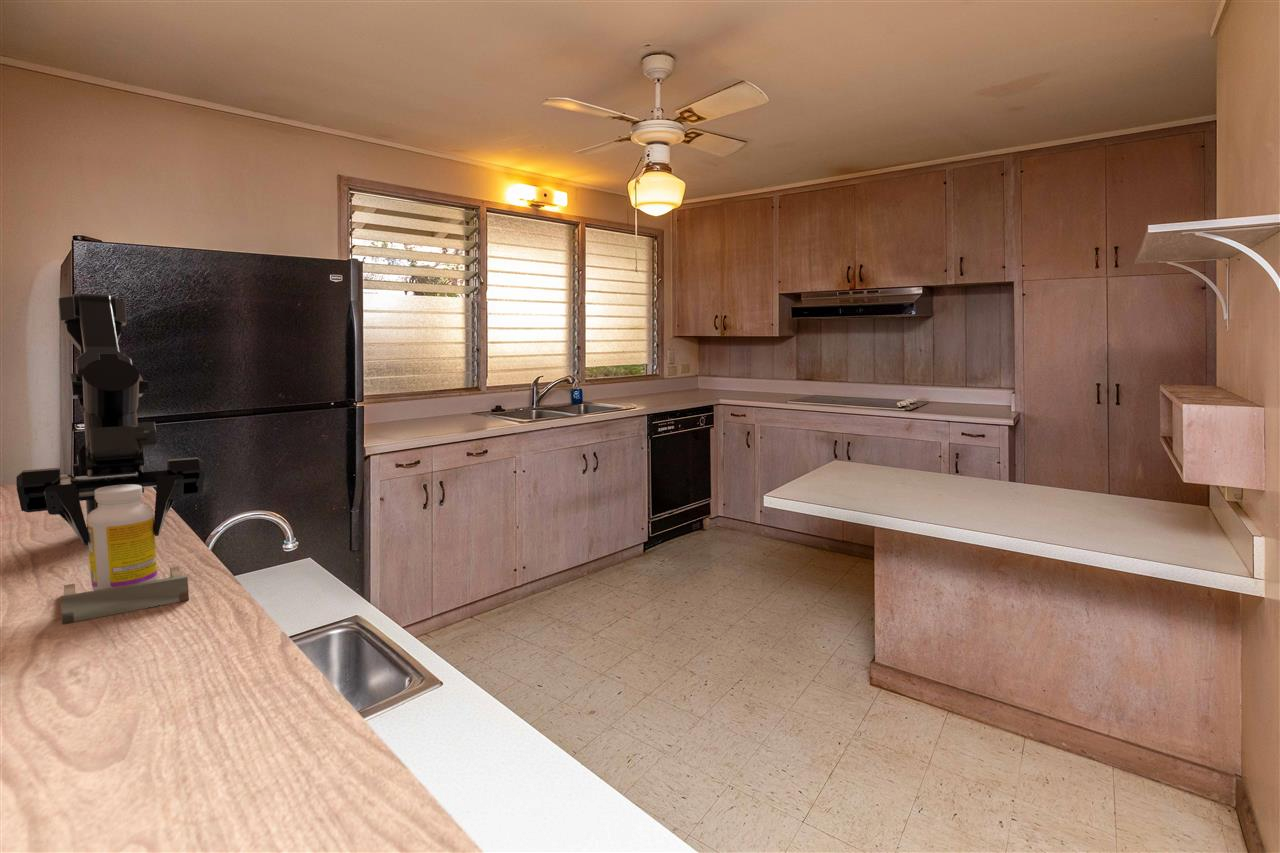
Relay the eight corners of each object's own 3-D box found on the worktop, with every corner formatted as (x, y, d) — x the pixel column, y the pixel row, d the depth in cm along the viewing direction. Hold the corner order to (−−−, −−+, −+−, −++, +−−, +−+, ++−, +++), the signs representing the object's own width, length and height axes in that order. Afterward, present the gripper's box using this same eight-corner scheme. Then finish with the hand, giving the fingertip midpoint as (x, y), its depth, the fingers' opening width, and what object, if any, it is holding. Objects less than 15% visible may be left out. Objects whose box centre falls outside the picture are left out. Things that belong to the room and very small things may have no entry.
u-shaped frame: (65, 594, 83) (63, 571, 83) (179, 574, 91) (178, 554, 91) (62, 624, 75) (60, 599, 74) (188, 599, 82) (187, 577, 82)
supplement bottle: (171, 578, 86) (165, 483, 85) (127, 598, 80) (119, 495, 78) (124, 575, 87) (118, 481, 85) (77, 594, 80) (69, 492, 79)
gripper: (10, 404, 77) (11, 516, 70) (198, 399, 89) (215, 494, 82) (21, 459, 84) (22, 565, 77) (194, 447, 96) (209, 538, 89)
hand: (122, 538), depth 81 cm, fingers closed on supplement bottle, 7 cm apart
